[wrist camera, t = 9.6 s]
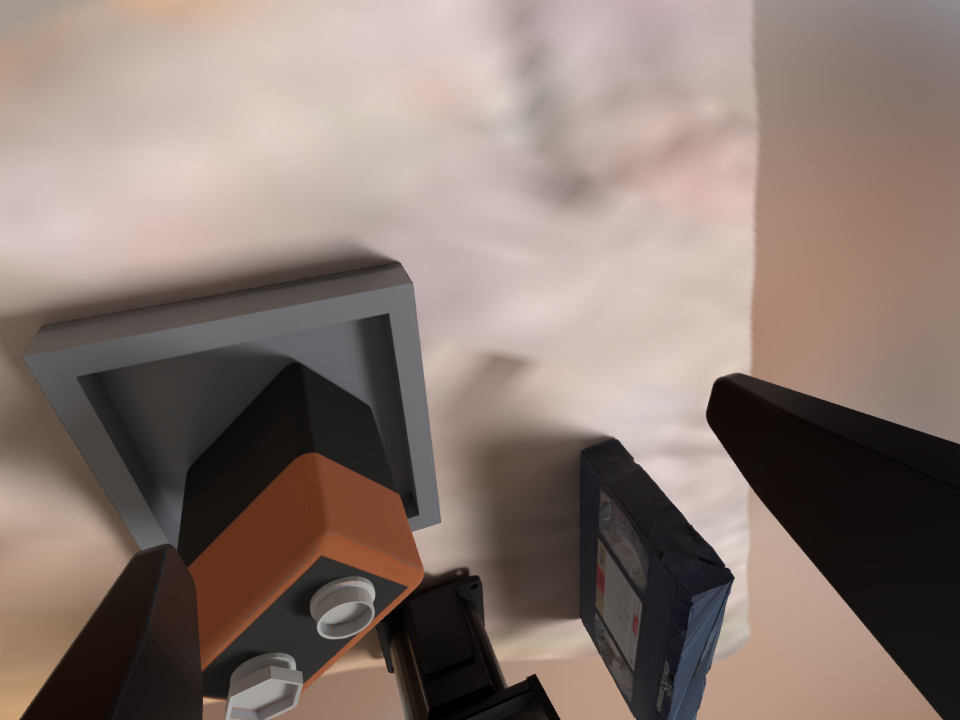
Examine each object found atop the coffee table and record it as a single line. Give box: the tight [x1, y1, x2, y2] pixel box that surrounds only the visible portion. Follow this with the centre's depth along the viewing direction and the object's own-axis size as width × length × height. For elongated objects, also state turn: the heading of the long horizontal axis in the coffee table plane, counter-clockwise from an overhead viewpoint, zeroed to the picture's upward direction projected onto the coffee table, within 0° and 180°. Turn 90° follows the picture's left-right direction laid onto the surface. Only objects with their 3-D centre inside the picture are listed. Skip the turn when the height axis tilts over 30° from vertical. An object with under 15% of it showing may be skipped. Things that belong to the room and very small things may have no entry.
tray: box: [22, 262, 441, 551], centre depth 22 cm, size 13×12×2 cm
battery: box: [177, 362, 424, 720], centre depth 18 cm, size 4×7×10 cm, turn 131°
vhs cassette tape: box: [580, 439, 735, 720], centre depth 32 cm, size 18×3×10 cm, turn 5°
